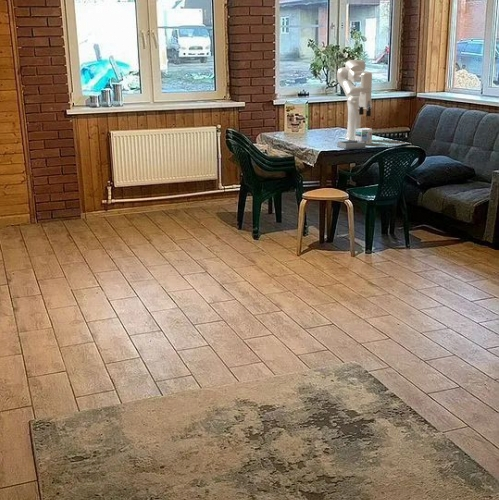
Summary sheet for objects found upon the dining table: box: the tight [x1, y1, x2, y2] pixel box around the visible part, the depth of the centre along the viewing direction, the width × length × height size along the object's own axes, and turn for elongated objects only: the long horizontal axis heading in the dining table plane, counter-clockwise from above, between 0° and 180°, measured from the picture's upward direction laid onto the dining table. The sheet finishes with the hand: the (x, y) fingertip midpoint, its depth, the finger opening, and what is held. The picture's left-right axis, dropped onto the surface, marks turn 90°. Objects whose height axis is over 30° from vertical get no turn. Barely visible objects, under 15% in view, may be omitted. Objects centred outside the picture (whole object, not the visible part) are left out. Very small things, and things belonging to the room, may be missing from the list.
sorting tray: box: [337, 140, 367, 150], centre depth 494 cm, size 12×16×4 cm
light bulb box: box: [354, 127, 373, 145], centre depth 507 cm, size 11×7×11 cm, turn 126°
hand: (364, 115), depth 503 cm, fingers open, 9 cm apart
